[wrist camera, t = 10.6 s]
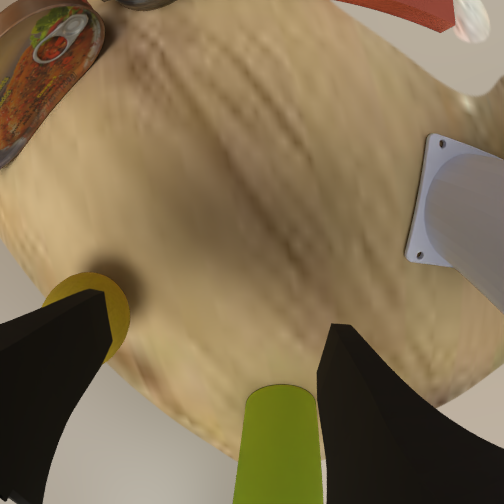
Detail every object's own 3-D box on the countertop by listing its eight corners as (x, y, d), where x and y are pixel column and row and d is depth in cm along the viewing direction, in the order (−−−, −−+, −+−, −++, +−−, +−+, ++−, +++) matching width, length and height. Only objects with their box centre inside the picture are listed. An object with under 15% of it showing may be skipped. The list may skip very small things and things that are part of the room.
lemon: (82, 245, 19) (7, 299, 11) (150, 267, 19) (88, 340, 11) (83, 308, 21) (26, 371, 13) (144, 331, 21) (98, 409, 13)
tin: (5, 177, 17) (-73, 204, 9) (-8, 149, 16) (-84, 169, 9) (130, 33, 13) (45, -11, 6) (111, 7, 13) (31, -37, 5)
